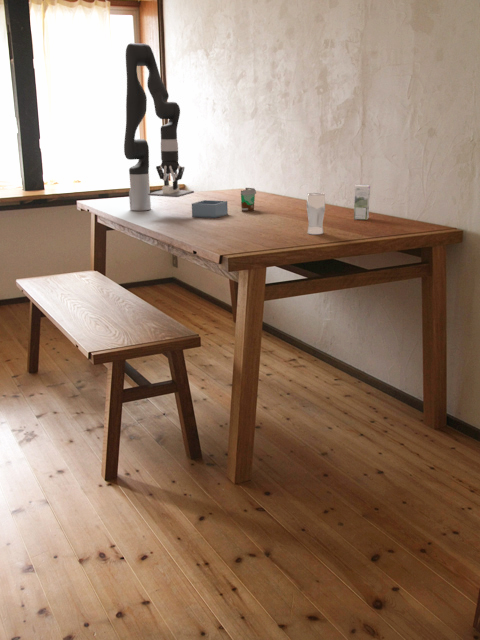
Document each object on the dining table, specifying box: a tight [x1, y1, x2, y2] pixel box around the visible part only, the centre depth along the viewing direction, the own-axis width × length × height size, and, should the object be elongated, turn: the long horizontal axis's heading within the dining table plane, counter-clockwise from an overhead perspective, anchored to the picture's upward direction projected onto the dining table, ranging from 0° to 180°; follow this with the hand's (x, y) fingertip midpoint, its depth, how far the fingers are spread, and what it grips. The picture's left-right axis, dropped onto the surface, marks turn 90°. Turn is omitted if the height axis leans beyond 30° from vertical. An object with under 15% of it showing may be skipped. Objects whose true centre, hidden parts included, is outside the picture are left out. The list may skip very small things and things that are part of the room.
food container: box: [240, 187, 257, 213], centre depth 303 cm, size 12×6×10 cm, turn 168°
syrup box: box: [353, 183, 371, 221], centre depth 272 cm, size 6×6×14 cm
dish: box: [191, 199, 229, 219], centre depth 290 cm, size 12×12×6 cm
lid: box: [148, 183, 195, 198], centre depth 287 cm, size 15×15×4 cm
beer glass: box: [306, 192, 326, 236], centre depth 243 cm, size 7×7×15 cm
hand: (171, 189), depth 287 cm, fingers closed on lid, 3 cm apart
